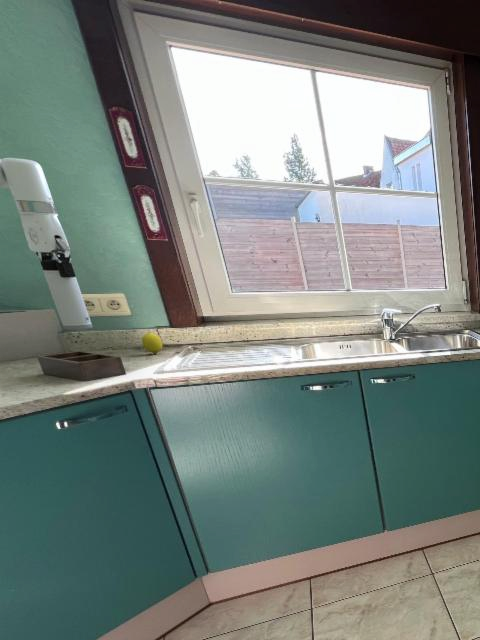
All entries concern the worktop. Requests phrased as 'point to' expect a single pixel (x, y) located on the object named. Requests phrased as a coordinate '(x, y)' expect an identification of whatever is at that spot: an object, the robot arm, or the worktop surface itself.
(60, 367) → the brown divided storage box
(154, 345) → the lemon
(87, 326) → the travel mug
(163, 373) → the worktop surface
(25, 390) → the worktop surface
